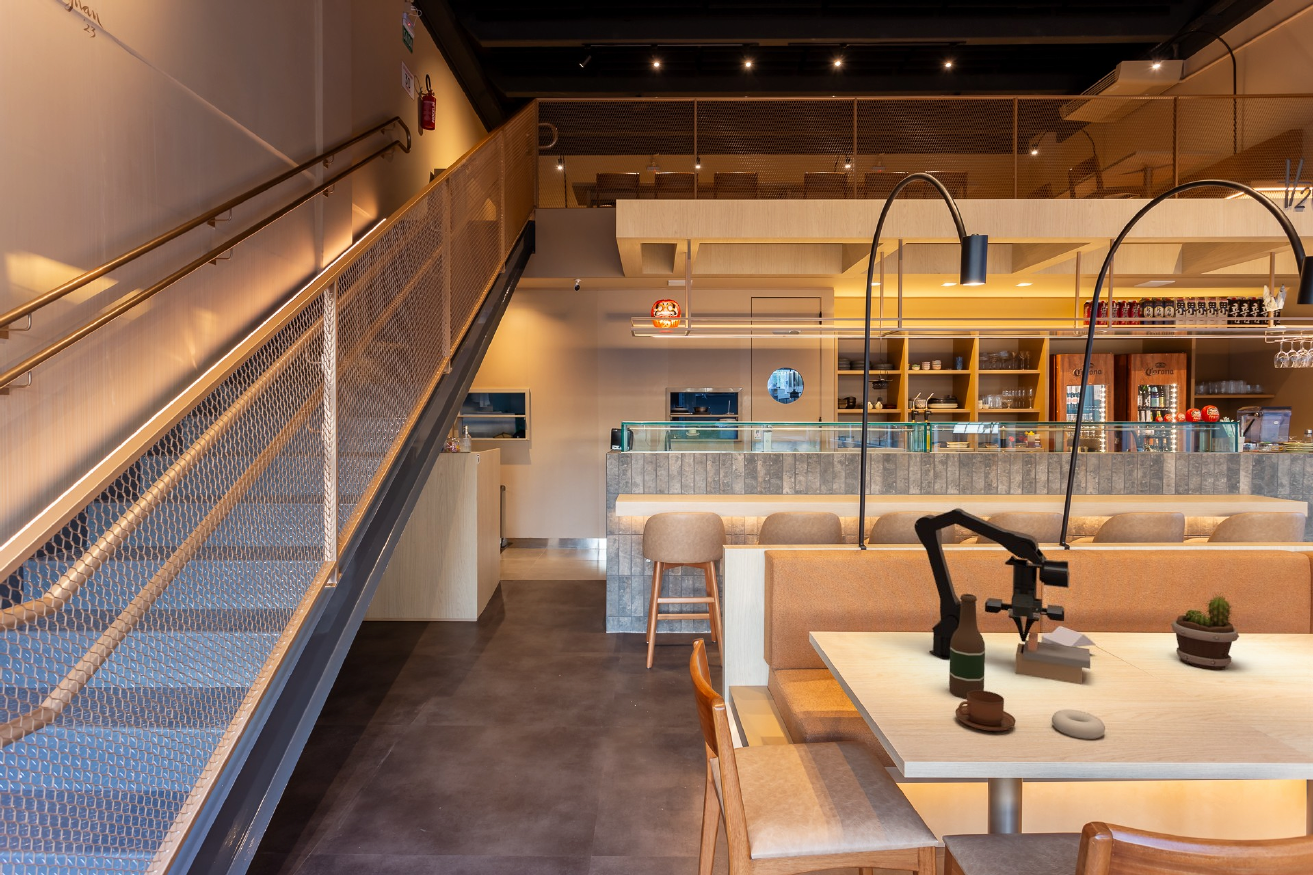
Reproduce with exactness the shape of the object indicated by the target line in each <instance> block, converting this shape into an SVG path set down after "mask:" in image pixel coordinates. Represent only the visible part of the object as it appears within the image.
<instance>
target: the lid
mask: <svg viewBox="0 0 1313 875" xmlns="http://www.w3.org/2000/svg"><path fill="white" fill-rule="evenodd" d="M1038 635H1039V633H1038V632H1034V631H1033V632H1032V631H1029V633H1028V639H1026V641H1025V642H1024V644H1025V646H1024V651H1023V659H1028V660H1035V661H1041V662H1048V663H1055V664H1062V665H1068V666H1075V667H1082V669H1090V670H1091V652H1090V648H1087V647H1086V648H1085V647H1072V646H1064V645H1057V644H1050V643H1043V642H1042V641H1038V640H1039V636H1038Z"/></svg>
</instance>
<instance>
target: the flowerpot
mask: <svg viewBox="0 0 1313 875" xmlns="http://www.w3.org/2000/svg"><path fill="white" fill-rule="evenodd" d="M1222 593H1223V592H1221V593H1220V594H1219V595H1217V594H1214V595H1215V596H1214V595H1212V598H1208V599H1207V600H1208V601H1207V603H1206V604H1205V605H1206V606H1205V607H1206V608H1207V609H1206V610H1204V611H1206V612H1205V613H1204V611H1203V610H1201V609H1198V608H1197V607H1195V608H1192V607H1189V609H1187V610H1186V612H1185V615H1178V617H1177V618H1176V619H1175V620H1173V621H1172V623H1171V624H1170V625H1171V629H1172V631H1173V632H1174V633H1175V637H1176V642H1177V646H1178V647H1177V648H1176V650H1175V652H1176V654H1177V656H1178V657H1179V658H1180V660H1181V662H1182V663H1184V664H1191V665H1192V666H1193V667H1196V668H1199V667H1200V668H1201V669H1206V670H1223V669H1225V668H1226V666H1229V665H1230V664H1231V663H1233V662H1232V661H1233V660H1232V656H1231V655H1230V651H1231V647H1232V643H1233V642H1236V641H1237V640H1238V639H1239V638H1240V635H1239V632H1238V630H1237V629H1236V628H1234V625H1233V623H1231V618H1232V617H1233V612H1234V611H1233V606H1232V605H1231V602H1230V600H1226V596H1224V594H1222ZM1221 594H1222V595H1221ZM1206 614H1207V615H1206Z"/></svg>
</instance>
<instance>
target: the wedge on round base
mask: <svg viewBox="0 0 1313 875" xmlns="http://www.w3.org/2000/svg"><path fill="white" fill-rule="evenodd" d="M1041 642H1043V643H1050V644H1057V645H1064V646H1072V647H1079V648H1081V647H1088V646H1089V647H1090V646H1097V644H1096V643H1095V642H1093V640H1091V639H1090V638H1089V637H1087V635H1085V634H1084V633H1082V632H1078V631H1076V630H1072V629H1070V628H1067V627H1063V626H1062V625H1059V626H1058V627H1057V628H1056V629H1054V631H1052V632H1045V633H1044V632H1043V633H1042V634H1041Z"/></svg>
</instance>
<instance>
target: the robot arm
mask: <svg viewBox="0 0 1313 875" xmlns="http://www.w3.org/2000/svg"><path fill="white" fill-rule="evenodd" d="M953 525H958V526H960V527H962V528H965V529H967V530H969V531H972V532H973V533H975V534H978V535H980V536H983V537H985V538H986V539H988V540H990V541H993V542H996V543H998V544H999V545H1001V546H1002V547H1003V548H1004V549H1006V551H1008V552H1010V553H1011V554H1013V555H1011V556H1010V557H1009V559H1008V560H1006V561H1005V562H1004V564H1005V566H1006V565H1007V566H1012V597H1011V600H1010V602H1011V603H1006V602H1003V599H1000V598H992V597H988V598H987V599H986V600H985V603H984V613H985V612H986V613H989V614H990V613H991V614H999V613H1000V612H1001V611H1006V612H1008V619H1012V620H1013V621H1014V623H1015V625H1016V627H1017V630H1018V633H1019V637H1020V640H1021V642H1023V643H1025V641H1026V640H1027V637H1028V636H1029V632H1030V630H1031V628H1032V626H1033V625H1034V623H1035V622H1039V621H1040V617H1041V616H1046V617H1047V619H1049V620H1050V621H1055V622H1065V607H1064V606H1062V605H1056V604H1047V607H1043V599H1042V598H1037V597H1038V596H1037V594H1038V593H1037V592H1038V589H1037V588H1038V587H1037V586H1038V585H1037V584H1038V581H1039V582H1041V583H1043V585H1044V586H1050V587H1057V588H1063V589H1064V588H1066V589H1069V587H1070V576H1071V574H1070V570H1069V569H1070V567H1069V561H1068V560H1053V559H1047V557H1046V556H1045V554H1044V553H1043V552H1042V551H1041V549H1040V548H1039V547H1040V546H1039V541H1038V540H1037V538H1036V537H1035V536H1033V535H1031V534H1028V533H1025V532H1022V531H1021V532H1020V531H1015V530H1010V529H1006V528H1004V527H1001V526H999V525H997V524H994V523H992V522H990V521H988V520H985V519H983V518H980V517H978V516H977V515H976V516H975V515H974V514H971V513H969V512H967V511H965V510H964V509H962V508H959V507H958V508H954V509H952V510H950V511H947V512H944V513H941V514H938V515H937V514H936V515H932V514H926V515H924V516H921V517H919V518H917V520H916V522H914V526H913V527H914V530H915V533H916V535H917V537H918V540H919V541H920V543H921V544H922V547H924V549H925V550H926V554H927V558H928V562H929V564H930V567H931V572H932V574H933V579H934V581H935V582H934V583H935V585H936V590H937V593H938V596H939V614H940V620H939V621H938V622H936V624H935V625H934V626H933V627H932V628H931V629H932V634H933V635H932V636H933V637H932V639H933V640H932V641H933V642H932V649H931V650H930V649H929V653H930V654H931V655H934V656H936V657H938V658H940V659H942V660H950V643H951V638H952V636H953V633H954V632H955V631H956V630H957V628H958V626H959V621H960V611H961V599H960V598H959V597H958V596H957V594H956V591H955V587H954V584H953V581H952V577H951V574H950V570H949V566H948V563H947V560H946V555H945V553H944V550H943V546H942V542H943V540H942V539H943V535H942V534H943V532H942V529H944V528H947V527H950V526H953ZM1038 569H1039V570H1038ZM1038 571H1039V572H1038ZM1038 578H1039V579H1038ZM1023 617H1024V618H1026V620H1025V626H1024V623H1023Z"/></svg>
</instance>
